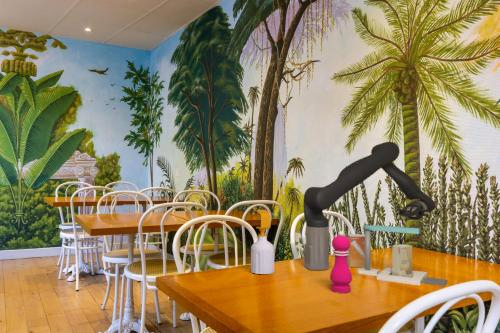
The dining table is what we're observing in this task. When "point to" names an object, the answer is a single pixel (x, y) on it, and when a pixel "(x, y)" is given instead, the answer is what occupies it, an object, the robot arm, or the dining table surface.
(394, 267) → the skincare box
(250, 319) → the dining table surface
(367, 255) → the holder
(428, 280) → the coaster
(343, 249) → the pepper mill
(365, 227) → the swing bar
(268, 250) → the soap bottle
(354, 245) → the small box
